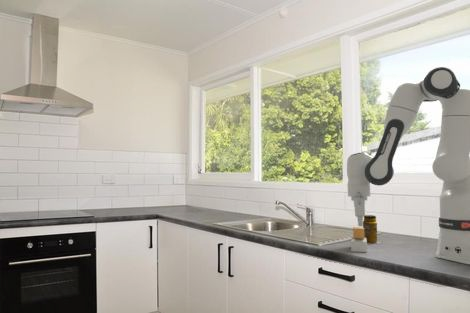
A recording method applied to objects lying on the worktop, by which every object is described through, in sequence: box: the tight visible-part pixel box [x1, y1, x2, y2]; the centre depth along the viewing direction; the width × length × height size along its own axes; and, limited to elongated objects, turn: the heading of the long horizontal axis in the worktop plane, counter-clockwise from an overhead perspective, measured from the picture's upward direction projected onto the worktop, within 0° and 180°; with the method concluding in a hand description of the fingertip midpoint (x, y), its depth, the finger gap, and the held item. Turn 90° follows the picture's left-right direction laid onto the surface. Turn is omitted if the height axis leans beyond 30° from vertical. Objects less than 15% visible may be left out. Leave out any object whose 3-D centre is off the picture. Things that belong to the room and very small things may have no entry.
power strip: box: [350, 236, 368, 253], centre depth 154 cm, size 10×6×4 cm, turn 162°
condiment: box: [362, 214, 382, 245], centre depth 170 cm, size 7×8×12 cm
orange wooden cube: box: [352, 226, 364, 239], centre depth 156 cm, size 4×4×4 cm
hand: (360, 225), depth 153 cm, fingers closed
